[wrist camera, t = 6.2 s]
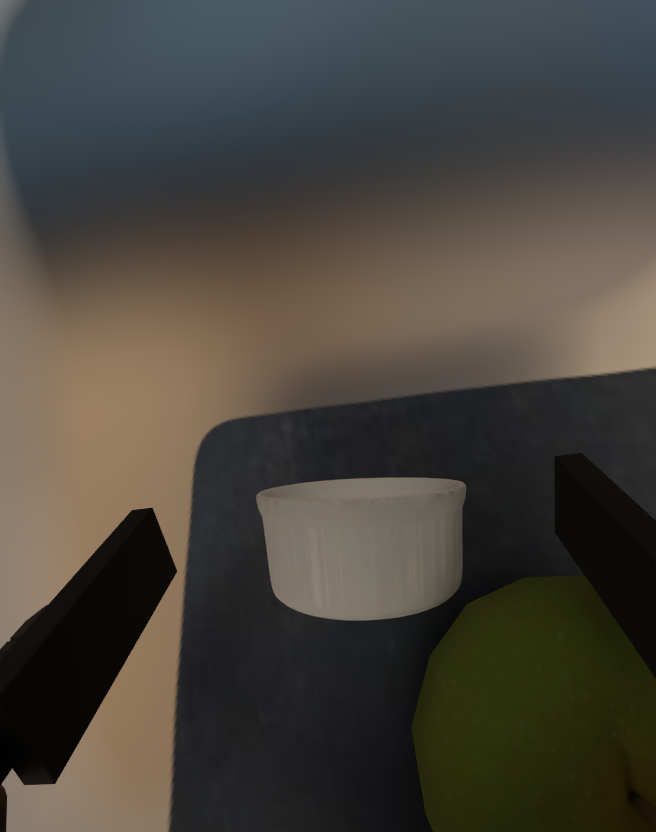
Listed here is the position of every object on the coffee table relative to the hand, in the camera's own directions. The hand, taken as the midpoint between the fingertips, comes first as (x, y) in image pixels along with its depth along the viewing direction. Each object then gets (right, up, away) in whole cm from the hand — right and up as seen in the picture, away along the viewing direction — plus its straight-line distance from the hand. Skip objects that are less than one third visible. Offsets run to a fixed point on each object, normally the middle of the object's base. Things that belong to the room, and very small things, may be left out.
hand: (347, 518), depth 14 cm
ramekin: (+1, -4, +4) cm, 6 cm away
